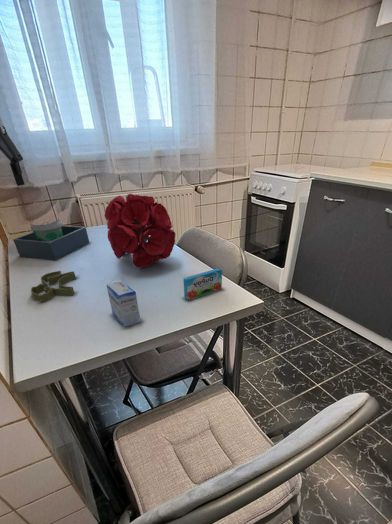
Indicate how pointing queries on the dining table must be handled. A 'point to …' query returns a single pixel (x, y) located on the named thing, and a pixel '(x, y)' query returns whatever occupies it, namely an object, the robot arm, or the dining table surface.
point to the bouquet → (139, 229)
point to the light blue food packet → (202, 284)
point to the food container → (48, 231)
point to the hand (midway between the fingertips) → (5, 184)
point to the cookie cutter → (52, 279)
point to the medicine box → (123, 303)
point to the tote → (52, 244)
